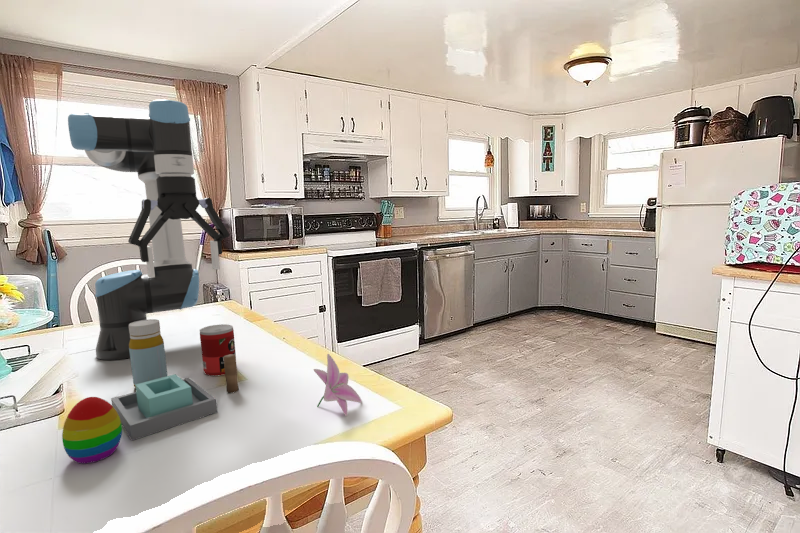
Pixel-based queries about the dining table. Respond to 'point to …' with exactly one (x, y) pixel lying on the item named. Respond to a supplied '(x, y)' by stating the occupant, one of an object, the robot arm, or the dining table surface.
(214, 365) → the canned food
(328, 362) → the lily
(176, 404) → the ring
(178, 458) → the dining table surface
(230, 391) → the post
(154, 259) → the robot arm
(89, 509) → the dining table surface
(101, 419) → the decorative egg
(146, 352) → the bottle
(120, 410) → the tray
